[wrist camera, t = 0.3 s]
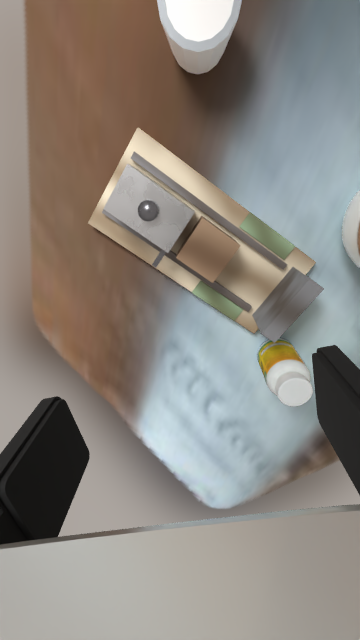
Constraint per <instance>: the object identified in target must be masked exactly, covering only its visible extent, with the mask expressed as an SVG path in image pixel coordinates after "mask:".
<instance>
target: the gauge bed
mask: <svg viewBox="0 0 360 640" xmlns="http://www.w3.org/2000/svg"><path fill="white" fill-rule="evenodd" d="M127 164H129V165H131V166H133V167H135V168H137V169H138V170H140V171H141V172H142V173H144V174H145V175H146V176H148V177H149V178H151V179H152V180H153V181H155V182H156V183H157V184H159V185H160V186H162V187H163V188H164V189H166V190H167V191H168V192H170V193H171V194H173V195H174V196H175V197H177V198H178V199H179V200H181V201H182V202H184V203H185V204H186V205H188V206H189V207H190V208H192V209H193V210H195V213H194V214H193V216H192V217H191V219H190V220H189V222H188V223H187V225H186V226H185V228H184V230H183V231H182V233H181V234H180V236H179V237H178V239H177V240H176V242H175V243H174V245H173V246H172V248H171V249H170V251H169V253H167V252H166V253H165V255H164V256H163V258H162V260H161V261H160V263H159V264H158V266H157V267H156V269H158V270H159V271H161V272H162V273H164V274H165V275H167V276H168V277H170V278H171V279H173V280H174V281H176V282H177V283H179V284H180V285H182V286H183V287H185V288H186V289H188V290H189V291H191V292H192V293H193V294H194V295H196V296H197V297H199V298H200V299H202V300H203V301H205V302H206V303H208V304H209V305H211V306H212V307H214V308H215V309H217V310H218V311H220V312H221V313H223V314H224V315H226V316H227V317H229V318H230V319H232V320H233V321H236V322H237V323H239V324H240V325H242V326H243V327H245V328H246V329H248V330H249V331H251V332H252V333H254V334H255V332H256V331H257V330H258V329H259V330H260V332H261V334H262V335H264V336H265V337H267V338H268V339H270V340H271V341H273V342H274V343H275V342H276V341H277V340H278V339H279V338H280V337H281V335H282V334H283V333H284V332H285V331H286V330H287V329H288V328H289V327H290V326H291V325H292V323H293V322H294V321H295V320H296V319H297V318H298V317H299V316H300V315H301V314H302V312H303V311H304V310H305V309H306V308H307V307H308V306H309V305H310V304H311V303H312V302H313V300H314V299H315V298H316V297H317V296H318V295H319V294H320V293H321V292H322V291H323V290H324V288H322V287H321V286H320V285H318V284H317V283H316V282H314V281H313V280H312V279H310V278H309V277H307V276H306V274H307V272H308V271H309V270H310V269H311V268H312V267H313V266H314V264H315V263H316V262H315V261H314V260H312V259H311V258H310V257H308V256H307V255H306V254H304V253H303V252H302V251H300V250H299V249H298V248H297V247H295V246H294V245H293V244H291V243H290V242H289V241H287V240H286V239H285V238H284V237H282V236H281V235H280V234H278V233H277V232H276V231H274V230H273V229H272V228H270V227H269V226H268V225H266V224H265V223H264V222H262V221H261V220H260V219H258V218H257V217H256V216H254V215H253V214H252V213H251V212H249V211H248V210H246V209H245V208H244V207H242V206H241V205H240V204H238V203H237V202H236V201H234V200H233V199H232V198H231V197H229V196H228V195H227V194H225V193H224V192H223V191H221V190H220V189H219V188H217V187H216V186H215V185H213V184H212V183H211V182H209V181H208V180H207V179H205V178H204V177H203V176H202V175H200V174H199V173H198V172H196V171H195V170H194V169H192V168H191V167H190V166H188V165H187V164H186V163H184V162H183V161H182V160H180V159H179V158H178V157H176V156H175V155H174V154H172V153H171V152H170V151H169V150H167V149H166V148H165V147H163V146H162V145H161V144H159V143H158V142H157V141H155V140H154V139H153V138H151V137H150V136H149V135H147V134H146V133H145V132H143V131H142V130H141V129H139V128H137V130H136V132H135V134H134V136H133V138H132V139H131V141H130V143H129V145H128V147H127V149H126V151H125V153H124V155H123V157H122V159H121V161H120V163H119V165H118V166H117V168H116V170H115V172H114V174H113V176H112V178H111V180H110V182H109V184H108V186H107V188H106V190H105V191H104V193H103V195H102V197H101V199H100V201H99V203H98V205H97V207H96V209H95V211H94V213H93V215H92V216H91V218H90V220H89V222H88V223H89V224H90V225H92V226H93V227H95V228H96V229H98V230H99V231H101V232H102V233H104V234H105V235H107V236H108V237H110V238H111V239H113V240H114V241H116V242H117V243H119V244H120V245H122V246H123V247H125V248H126V249H128V250H129V251H131V252H132V253H134V254H135V255H137V256H138V257H140V258H141V259H143V260H144V261H146V262H147V263H149V264H150V265H152V264H153V262H154V261H155V259H156V257H157V256H158V254H159V253H160V251H161V250H162V249H161V248H160V247H158V246H157V245H155V244H154V243H152V242H151V241H149V240H148V239H147V238H145V237H144V236H142V235H141V234H139V233H138V232H136V231H135V230H133V229H132V228H130V227H129V226H127V225H126V224H125V223H123V222H122V221H120V220H119V219H117V218H116V217H114V216H113V215H111V214H110V213H108V212H107V211H106V210H104V207H105V205H106V203H107V201H108V199H109V197H110V195H111V193H112V192H113V190H114V188H115V186H116V184H117V182H118V180H119V178H120V176H121V175H122V173H123V171H124V169H125V167H126V165H127ZM201 216H203V217H204V218H206V219H207V220H208V221H210V222H211V223H212V224H214V225H215V226H217V227H218V228H219V229H221V230H222V231H223V232H225V233H226V234H228V235H229V236H230V237H232V238H233V239H234V240H236V241H237V243H238V244H239V245H240V247H239V249H238V250H237V251H236V253H235V254H234V255H233V257H232V258H231V260H230V261H229V262H228V264H227V265H226V266H225V268H224V269H223V270H222V272H221V273H220V274H219V276H218V277H217V278H216V280H215V281H214V282H213V283H212V282H210V281H209V280H207V279H206V278H204V277H203V276H202V275H200V274H199V273H197V272H196V271H194V270H193V269H191V268H190V267H188V266H187V265H185V264H184V263H183V262H181V261H180V260H178V259H177V258H176V256H177V253H178V250H179V249H180V247H181V246H182V244H183V243H184V241H185V240H186V238H187V237H188V235H189V234H190V232H191V231H192V229H193V228H194V226H195V225H196V223H197V222H198V220H199V219H200V217H201ZM153 267H154V266H153Z"/></svg>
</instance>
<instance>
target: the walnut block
mask: <svg viewBox="0 0 360 640" xmlns="http://www.w3.org/2000/svg"><path fill="white" fill-rule="evenodd" d="M239 247H240V245H239V244H238V243H237V241H236V240H234V239H233V238H232V237H230V236H229V235H228V234H226V233H225V232H223V231H222V230H221V229H219V228H218V227H217V226H215V225H214V224H212V223H211V222H210V221H208V220H207V219H206V218H204V217H203V216H201V217H200V219H199V220H198V222H197V223H196V225H195V226H194V228H193V229H192V231H191V232H190V234H189V235H188V237H187V238H186V240H185V241H184V243H183V244H182V246H181V247H180V249H179V250H178V253H177V256H176V258H177V259H178V260H180V261H181V262H183V263H184V264H185V265H187V266H188V267H190V268H191V269H193V270H194V271H196V272H197V273H199V274H200V275H202V276H203V277H204V278H206V279H207V280H209V281H210V282H212V283H213V282H214V281H215V280H216V278H217V277H218V276H219V274H220V273H221V272H222V270H223V269H224V268H225V266H226V265H227V264H228V262H229V261H230V260H231V258H232V257H233V255H234V254H235V253H236V251H237V250H238V249H239Z"/></svg>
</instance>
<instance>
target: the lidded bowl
mask: <svg viewBox="0 0 360 640" xmlns="http://www.w3.org/2000/svg"><path fill="white" fill-rule="evenodd" d="M342 239H343V244H344V247H345V250H346V252H347V254H348V256H349V257H350V259H351V260H352V261H353V262H354V263H355V264H356V265H357V267H359V268H360V190H359V191H358V192H357V193H356V194H355V196H354V197H353V198H352V200H351V202H350V203H349V205H348V207H347V209H346V212H345V215H344V218H343V223H342Z"/></svg>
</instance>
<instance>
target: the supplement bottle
mask: <svg viewBox="0 0 360 640" xmlns="http://www.w3.org/2000/svg"><path fill="white" fill-rule="evenodd" d="M257 358H258V362H259V364H260V367H261V369H262V372H263V375H264V377H265V380H266V383H267V385H268V387H269V389H270V390H271V391H272V392H273V393H274V394H275V395H277V396H278V398H279V400H280V401H281V402H282V403H283V404H285V405H288V406H300V405H302V404H304V403H306V402H307V401H308V400H309V399H310V398H311V396H312V393H313V388H312V385H311V384H310V379H311V377H310V372H309V370H308V368H307V367H306V365H305V364H304V362H303V361H302V359H301V358H300V356H299V355H298V353H297V351H296V350H295V348H294V347H293V345H292V344H291V343H290V342H288V341H287V340H284V339H280V338H279V339H278V340H277V341H276V342H275V343H274V342H273V341H271V340H268V341H266V342H264V343H263V344H262V345H261V346H260V348H259V350H258V354H257Z"/></svg>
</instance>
